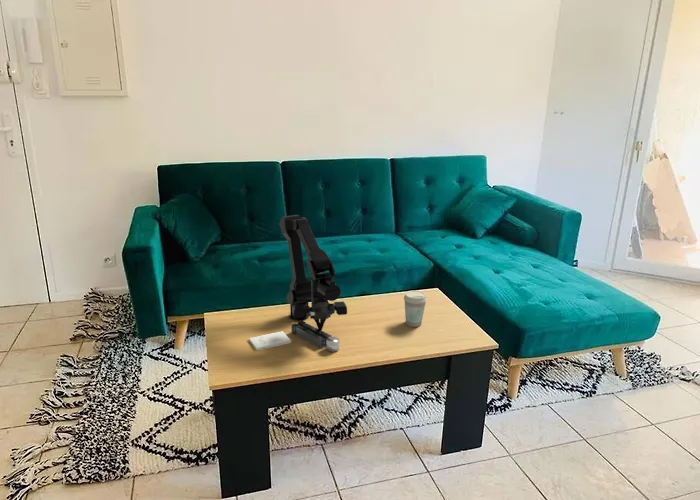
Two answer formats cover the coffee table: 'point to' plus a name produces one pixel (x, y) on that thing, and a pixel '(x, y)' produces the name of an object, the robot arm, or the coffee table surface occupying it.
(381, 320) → the coffee table surface
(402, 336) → the coffee table surface
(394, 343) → the coffee table surface
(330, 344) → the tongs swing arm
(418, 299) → the coffee cup
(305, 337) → the tongs fixed arm
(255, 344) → the external hard drive
